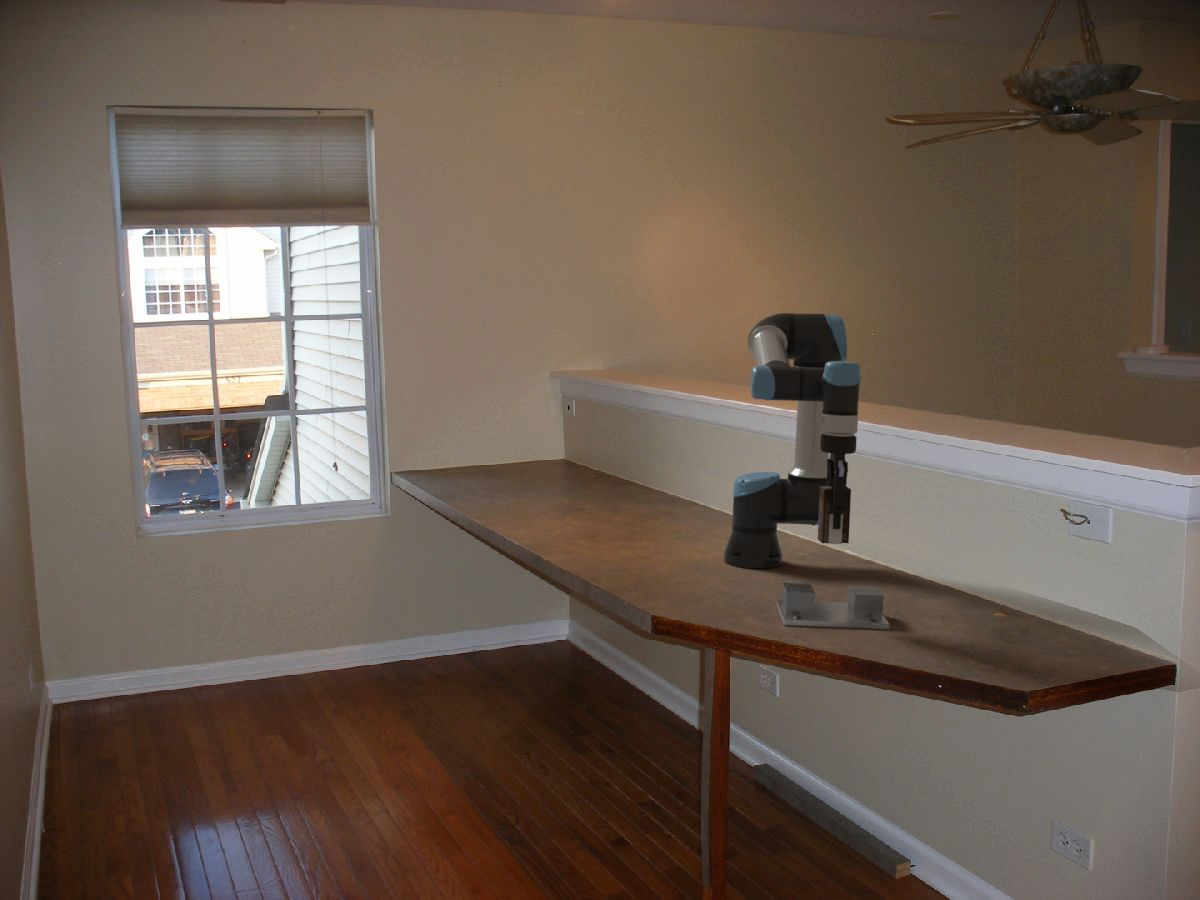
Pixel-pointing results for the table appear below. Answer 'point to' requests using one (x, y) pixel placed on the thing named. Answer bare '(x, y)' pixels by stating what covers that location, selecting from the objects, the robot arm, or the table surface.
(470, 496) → the table surface
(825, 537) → the box
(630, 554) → the table surface
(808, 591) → the wall mount bracket
